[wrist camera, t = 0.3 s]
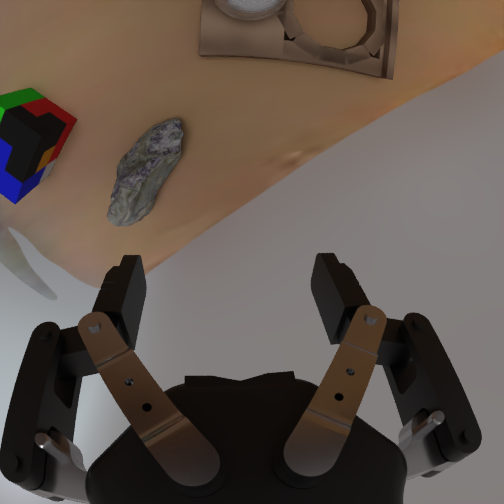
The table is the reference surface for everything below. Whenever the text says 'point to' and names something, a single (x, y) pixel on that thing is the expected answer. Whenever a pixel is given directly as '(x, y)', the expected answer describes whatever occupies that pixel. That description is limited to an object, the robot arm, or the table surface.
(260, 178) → the table surface
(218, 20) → the wooden ball holder
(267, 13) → the steel ball
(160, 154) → the mineral rock
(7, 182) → the puzzle toy
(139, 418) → the robot arm
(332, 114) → the table surface
